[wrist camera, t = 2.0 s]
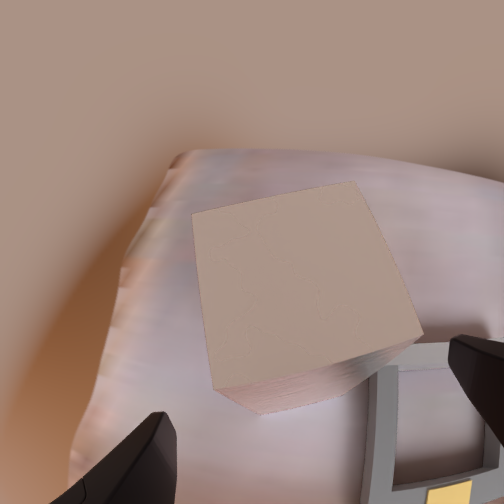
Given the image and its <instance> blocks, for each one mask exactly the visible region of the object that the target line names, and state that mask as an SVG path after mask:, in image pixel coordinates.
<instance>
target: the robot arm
mask: <svg viewBox="0 0 504 504" xmlns="http://www.w3.org/2000/svg"><path fill="white" fill-rule="evenodd" d="M448 364H449V367H450V368H451V370H452V372H453V373H454V375H455V377H456V378H457V380H458V382H459V383H460V385H461V387H462V388H463V390H464V392H465V394H466V395H467V397H468V398H469V400H470V401H471V403H472V404H473V405H474V407H475V408H476V409H477V411H478V412H479V413H480V415H481V416H482V418H483V419H484V420H485V422H486V423H487V425H488V426H489V427H490V429H491V430H492V432H493V433H494V435H495V436H496V437H497V439H498V440H499V442H500V443H501V445H502V446H503V448H504V342H499V341H494V340H488V339H483V338H478V337H473V336H468V335H463V334H460V335H457V336H455V337H453V338H451V340H450V342H449V351H448ZM176 482H177V436H176V431H175V429H174V427H173V425H172V423H171V421H170V419H169V417H168V415H167V413H166V412H164V411H162V412H153V413H151V414H150V415H149V416H148V417H147V418H146V419H145V420H144V421H143V422H142V423H141V424H140V425H139V426H137V427H136V428H135V429H134V430H133V431H132V432H131V433H130V434H129V435H128V436H127V437H126V438H125V439H124V440H123V441H122V442H120V443H119V444H118V445H117V446H116V447H115V448H114V449H113V450H112V451H111V452H110V453H109V454H108V455H106V456H105V457H104V458H103V459H102V460H101V461H100V462H99V463H98V464H97V465H95V466H94V467H93V468H92V469H91V470H90V471H89V472H88V473H87V474H85V475H84V476H83V478H81V479H80V480H79V481H78V482H76V483H75V484H74V485H73V486H72V487H71V488H69V489H68V490H67V491H66V492H64V493H63V494H62V495H61V496H59V497H58V498H57V499H55V500H54V501H52V502H51V503H50V504H174V501H175V492H176Z"/></svg>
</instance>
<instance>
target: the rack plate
mask: <svg viewBox="0 0 504 504" xmlns="http://www.w3.org/2000/svg"><path fill="white" fill-rule="evenodd" d="M488 340H494V341H499V342H504V337H501V338H492V339H488ZM448 351H449V342H439V343H418V344H411V345H410V346H409V347H408V348H407V349H405V350H404V351H403V352H402V353H400V354H399V355H398V356H396V357H395V358H394V359H393V360H391V361H390V362H389V363H387V364H386V365H385V366H383V367H382V368H381V369H379V370H378V371H377V372H375V373H374V374H372V375H371V376H370V377H369V402H368V423H367V438H366V451H365V462H364V472H363V481H362V489H361V497H360V504H483V503H486V502H489V501H492V500H495V499H497V498H500V497H503V496H504V448H503V446H502V445H501V443H500V442H499V440H498V439H497V437H496V436H495V435H494V433H493V432H492V430H491V429H490V427H489V426H488V425H487V423H486V422H485V440H484V456H483V467H482V468H479V469H475V470H471V471H467V472H464V473H459V474H455V475H451V476H446V477H442V478H437V479H431V480H426V481H420V482H414V483H407V484H400V485H392V484H393V475H394V465H395V454H396V440H397V421H398V371H414V370H429V369H442V368H450V367H449V364H448Z"/></svg>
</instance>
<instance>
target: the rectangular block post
mask: <svg viewBox="0 0 504 504" xmlns="http://www.w3.org/2000/svg"><path fill="white" fill-rule="evenodd" d="M191 215H192V226H193V237H194V247H195V256H196V265H197V274H198V283H199V291H200V299H201V307H202V315H203V322H204V330H205V337H206V344H207V351H208V358H209V364H210V371H211V377H212V383H213V389H214V390H215V391H217V392H218V393H220V394H222V395H224V396H225V397H227V398H229V399H231V400H233V401H234V402H236V403H238V404H240V405H242V406H244V407H245V408H247V409H249V410H251V411H253V412H255V413H257V414H259V415H264V414H269V413H274V412H279V411H284V410H288V409H293V408H297V407H301V406H305V405H309V404H313V403H317V402H321V401H324V400H328V399H332V398H335V397H339V396H342V395H344V394H345V393H347V392H348V391H350V390H351V389H353V388H354V387H355V386H357V385H358V384H360V383H361V382H363V381H364V380H366V379H367V378H368V377H370V376H371V375H372V374H374V373H375V372H377V371H378V370H379V369H381V368H382V367H383V366H385V365H386V364H387V363H389V362H390V361H391V360H393V359H394V358H395V357H396V356H398V355H399V354H400V353H402V352H403V351H404V350H405V349H407V348H408V347H409V346H410V345H411V344H413V343H414V342H415V341H416V340H417V339H419V338H420V337H421V336H422V335H423V334H424V333H423V330H422V327H421V325H420V322H419V319H418V317H417V314H416V312H415V309H414V306H413V304H412V301H411V299H410V296H409V294H408V292H407V289H406V287H405V284H404V282H403V280H402V277H401V275H400V273H399V270H398V268H397V266H396V264H395V261H394V259H393V257H392V255H391V253H390V250H389V248H388V246H387V244H386V242H385V240H384V238H383V236H382V233H381V231H380V229H379V227H378V225H377V223H376V221H375V219H374V217H373V215H372V213H371V211H370V209H369V207H368V205H367V204H366V202H365V200H364V198H363V196H362V194H361V192H360V190H359V188H358V187H357V185H356V183H355V181H350V182H344V183H339V184H333V185H327V186H322V187H317V188H311V189H306V190H301V191H296V192H291V193H286V194H281V195H276V196H271V197H266V198H261V199H256V200H252V201H247V202H242V203H238V204H233V205H228V206H224V207H220V208H215V209H211V210H206V211H202V212H198V213H193V214H191Z"/></svg>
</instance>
